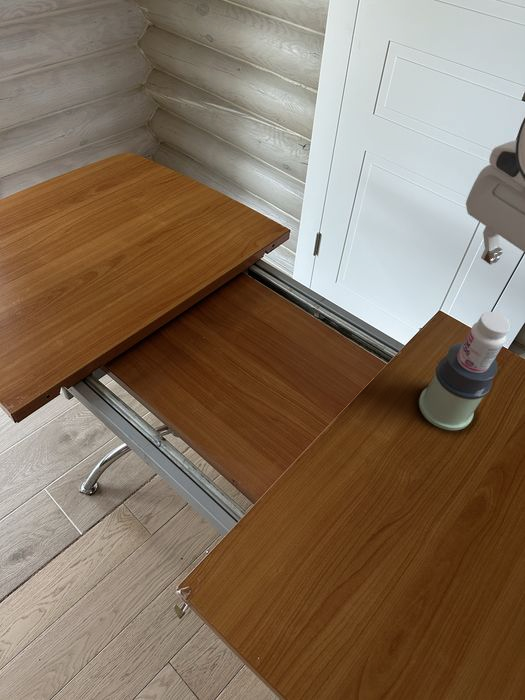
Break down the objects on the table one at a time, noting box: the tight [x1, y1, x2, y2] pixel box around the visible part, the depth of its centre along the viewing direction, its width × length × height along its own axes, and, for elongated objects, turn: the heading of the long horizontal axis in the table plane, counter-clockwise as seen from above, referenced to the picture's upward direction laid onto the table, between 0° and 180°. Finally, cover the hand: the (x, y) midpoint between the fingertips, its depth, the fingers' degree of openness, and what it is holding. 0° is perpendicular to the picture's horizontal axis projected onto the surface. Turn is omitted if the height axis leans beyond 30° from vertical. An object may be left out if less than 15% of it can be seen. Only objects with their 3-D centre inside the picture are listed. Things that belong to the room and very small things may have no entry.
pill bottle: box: [457, 311, 511, 373], centre depth 73 cm, size 5×5×8 cm
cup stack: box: [418, 342, 499, 431], centre depth 81 cm, size 9×9×12 cm
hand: (518, 282), depth 63 cm, fingers open, 8 cm apart
